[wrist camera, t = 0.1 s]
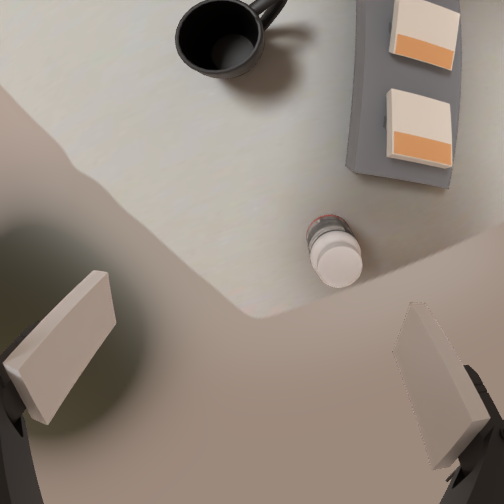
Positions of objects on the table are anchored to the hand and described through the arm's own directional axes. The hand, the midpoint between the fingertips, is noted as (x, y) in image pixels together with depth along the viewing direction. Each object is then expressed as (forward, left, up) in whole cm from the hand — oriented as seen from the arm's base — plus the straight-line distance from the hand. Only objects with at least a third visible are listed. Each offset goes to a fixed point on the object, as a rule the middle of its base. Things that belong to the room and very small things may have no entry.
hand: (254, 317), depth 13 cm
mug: (-17, -4, -28) cm, 33 cm away
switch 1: (-21, +14, -22) cm, 34 cm away
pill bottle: (+6, +8, -28) cm, 30 cm away
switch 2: (-9, +14, -22) cm, 28 cm away
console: (-20, +15, -28) cm, 37 cm away
